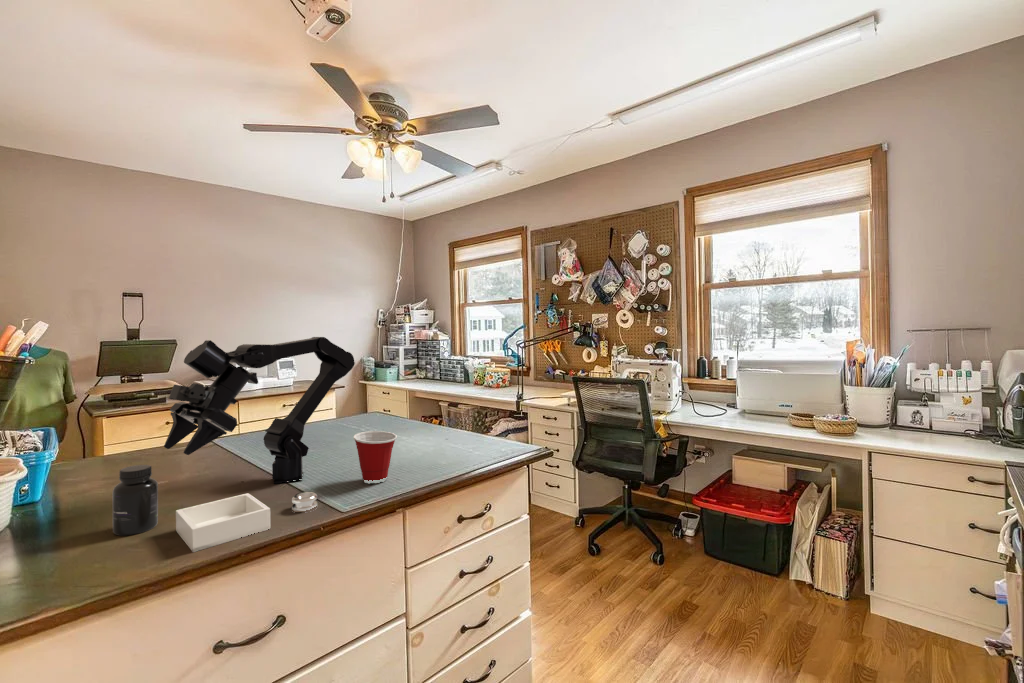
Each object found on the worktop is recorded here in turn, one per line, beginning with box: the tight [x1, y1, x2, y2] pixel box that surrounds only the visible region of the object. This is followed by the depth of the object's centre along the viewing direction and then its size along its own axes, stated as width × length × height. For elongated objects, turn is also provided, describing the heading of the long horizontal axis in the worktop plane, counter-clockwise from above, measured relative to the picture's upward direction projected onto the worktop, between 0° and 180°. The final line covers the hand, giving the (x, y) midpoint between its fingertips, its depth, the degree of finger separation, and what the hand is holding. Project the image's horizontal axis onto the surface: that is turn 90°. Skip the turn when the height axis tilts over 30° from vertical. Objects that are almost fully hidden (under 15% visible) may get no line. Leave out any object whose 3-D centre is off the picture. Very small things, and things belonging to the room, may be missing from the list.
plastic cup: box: [353, 430, 398, 481], centre depth 116 cm, size 11×11×12 cm
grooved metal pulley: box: [291, 491, 318, 511], centre depth 98 cm, size 5×3×5 cm
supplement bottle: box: [112, 464, 159, 537], centre depth 87 cm, size 7×7×12 cm
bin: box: [175, 493, 272, 553], centre depth 87 cm, size 13×13×4 cm
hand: (175, 451), depth 95 cm, fingers open, 9 cm apart
